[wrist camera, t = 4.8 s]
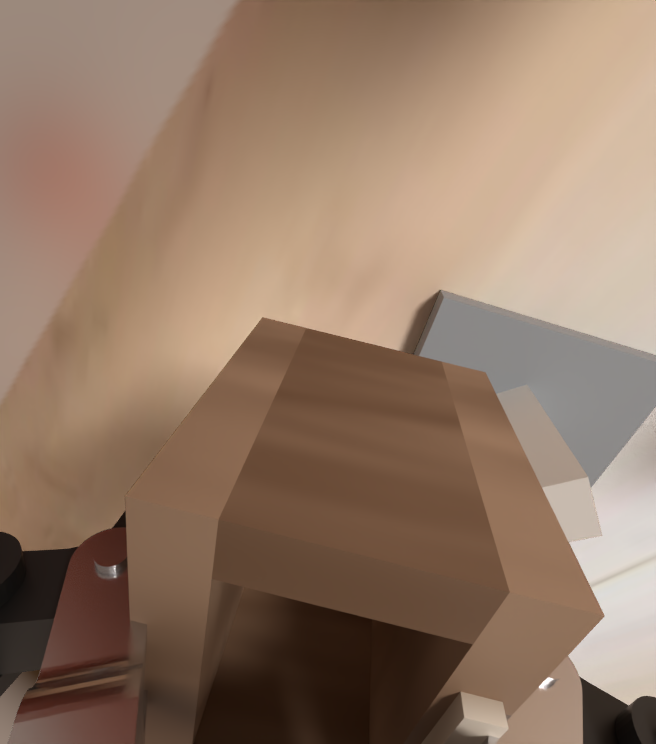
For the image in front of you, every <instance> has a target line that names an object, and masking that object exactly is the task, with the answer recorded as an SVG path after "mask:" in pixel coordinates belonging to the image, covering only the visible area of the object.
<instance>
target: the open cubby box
mask: <svg viewBox="0 0 656 744" xmlns="http://www.w3.org/2000/svg"><path fill="white" fill-rule="evenodd" d="M125 511H126V535H127V560H128V584H129V609H130V620H132V621H135V622H139V623H143V624H147V650H146V662H145V675H144V690H148V704H147V719H146V733H145V744H482V743H483V742H484V740H485V739H486V738H487V737H488V736H493V737H497V738H500V737H501V736H502V735H503V734H504V733H505V732H506V731H507V730H508V729H509V728H508V724H507V719H506V715H509V716H512V715H513V714H514V713H515V712H516V711H517V710H518V708H519V707H520V706H521V705H522V704H523V703H524V702H525V701H526V700H527V699H528V698H529V697H530V696H531V695H532V693H533V692H534V691H535V690H536V689H537V688H538V687H539V686H540V685H541V684H542V683H543V682H544V681H545V679H546V678H547V677H548V676H549V675H550V674H551V673H552V672H553V671H554V670H555V669H556V668H557V667H558V666H559V664H560V663H561V662H562V661H563V660H564V659H565V658H566V657H567V656H568V655H569V654H570V653H571V652H572V651H573V649H574V648H575V647H576V646H577V645H578V644H579V643H580V642H581V641H582V640H583V639H584V638H585V637H586V635H587V634H588V633H589V632H590V631H591V630H592V629H593V628H594V627H595V626H596V625H597V624H598V623H599V622H600V620H601V619H602V618H603V617H604V614H603V612H602V610H601V608H600V606H599V603H598V601H597V599H596V597H595V595H594V593H593V591H592V589H591V587H590V585H589V583H588V581H587V579H586V577H585V575H584V573H583V571H582V569H581V567H580V565H579V563H578V560H577V558H576V556H575V554H574V552H573V550H572V548H571V546H570V544H569V542H568V540H567V538H566V536H565V534H564V532H563V530H562V528H561V526H560V524H559V522H558V520H557V517H556V515H555V513H554V511H553V509H552V507H551V505H550V503H549V501H548V499H547V497H546V495H545V493H544V491H543V489H542V487H541V485H540V483H539V481H538V479H537V477H536V475H535V472H534V470H533V468H532V466H531V464H530V462H529V460H528V458H527V456H526V454H525V452H524V450H523V448H522V446H521V444H520V442H519V440H518V438H517V436H516V434H515V432H514V429H513V427H512V425H511V423H510V421H509V419H508V417H507V415H506V413H505V411H504V409H503V407H502V405H501V403H500V401H499V399H498V397H497V395H496V393H495V391H494V389H493V386H492V384H491V382H490V380H489V378H488V376H487V374H486V372H482V371H478V370H474V369H470V368H466V367H462V366H458V365H454V364H450V363H446V362H442V361H438V360H433V359H429V358H425V357H421V356H417V355H413V354H409V353H405V352H401V351H397V350H393V349H389V348H385V347H381V346H377V345H373V344H369V343H365V342H360V341H356V340H352V339H348V338H344V337H340V336H336V335H332V334H328V333H324V332H320V331H316V330H312V329H308V328H304V327H300V326H296V325H291V324H287V323H283V322H279V321H275V320H271V319H267V318H262V319H261V320H260V321H259V323H258V324H257V325H256V327H255V328H254V329H253V331H252V332H251V333H250V334H249V336H248V337H247V338H246V340H245V341H244V342H243V344H242V345H241V346H240V347H239V349H238V350H237V351H236V353H235V354H234V355H233V357H232V358H231V359H230V360H229V362H228V363H227V364H226V366H225V367H224V368H223V369H222V371H221V372H220V373H219V375H218V376H217V377H216V379H215V380H214V381H213V382H212V384H211V385H210V386H209V388H208V389H207V390H206V392H205V393H204V394H203V395H202V397H201V398H200V399H199V401H198V402H197V403H196V404H195V406H194V407H193V408H192V410H191V411H190V412H189V414H188V415H187V416H186V417H185V419H184V420H183V421H182V423H181V424H180V425H179V427H178V428H177V429H176V430H175V432H174V433H173V434H172V436H171V437H170V438H169V440H168V441H167V442H166V443H165V445H164V446H163V447H162V449H161V450H160V451H159V452H158V454H157V455H156V456H155V458H154V459H153V460H152V462H151V463H150V464H149V465H148V467H147V468H146V469H145V471H144V472H143V473H142V475H141V476H140V477H139V478H138V480H137V481H136V482H135V484H134V485H133V486H132V488H131V489H130V490H129V491H128V493H127V494H126V495H125Z"/></svg>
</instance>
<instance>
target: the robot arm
mask: <svg viewBox="0 0 656 744" xmlns="http://www.w3.org/2000/svg"><path fill="white" fill-rule="evenodd" d="M146 650H147V624H143V623H139V622H135V621H132V620H130V609H129V584H128V560H127V535H126V511H125V512H124V513H123V515H122V516H121V517H120V519H119V520H118V522H117V523H116V524H115V525H114V526H113V528H111V529H108V530H104V531H101V532H99V533H97V534H95V535H93V536H91V537H90V538H88V539H87V540H85V541H84V542H83V543H82V544H81V545H80V546H79V547H74V548H69V549H58V550H40V551H22V549H21V545H20V543H19V541H18V540H17V539H16V538H15V537H13V536H12V535H10V534H7V533H4V532H0V696H1V695H2V694H3V693H4V692H5V691H6V689H7V688H8V687H9V686H10V685H11V684H12V683H13V682H14V681H15V680H16V678H17V677H18V676H19V675H20V674H21V673H22V672H26V671H34V670H40V673H39V676H38V679H37V681H36V683H35V685H34V686H33V687H32V688H30V689H29V690H27V692H26V693H25V695H24V697H23V699H22V701H21V703H20V706H19V708H18V711H17V714H16V717H15V720H14V723H13V727H12V730H11V734H10V737H9V741H8V744H145V733H146V719H147V704H148V690H144V675H145V662H146ZM506 719H507V724H508V728H509V729H508V730H507V731H506V732H505V733H504V734H503V735H502V736H501V737H500V738H497V737H493V736H488V737H487V738H486V739H485V740H484V742H483V743H482V744H656V698H655V697H650V696H642V697H640V698H638V699H636V700H635V701H634V702H633V703H632V704H630V705H629V706H628V705H627V704H625V703H623V702H622V701H620V700H618V699H616V698H615V697H613V696H611V695H609V694H608V693H606V692H604V691H602V690H601V689H599V688H597V687H596V686H594V685H592V684H590V683H589V682H587V681H586V680H584V679H582V678H581V677H580V676H579V675H578V672H577V670H576V668H575V666H574V664H573V662H572V661H571V660H570V658H569V657H568V656H567V657H566V658H565V659H564V660H563V661H562V662H561V663H560V664H559V666H558V667H557V668H556V669H555V670H554V671H553V672H552V673H551V674H550V675H549V676H548V677H547V678H546V679H545V681H544V682H543V683H542V684H541V685H540V686H539V687H538V688H537V689H536V690H535V691H534V692H533V693H532V695H531V696H530V697H529V698H528V699H527V700H526V701H525V702H524V703H523V704H522V705H521V706H520V707H519V708H518V710H517V711H516V712H515V713H514V714H513V715H512V716H509V715H506Z"/></svg>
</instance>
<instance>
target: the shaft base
mask: <svg viewBox="0 0 656 744" xmlns="http://www.w3.org/2000/svg"><path fill="white" fill-rule="evenodd" d="M414 355H417V356H421V357H425V358H429V359H433V360H438V361H442V362H446V363H450V364H454V365H458V366H462V367H466V368H470V369H474V370H478V371H482V372H486V374H487V376H488V378H489V380H490V382H491V384H492V386H493V389H494V391H495V393H496V395H497V397H498V399H499V401H500V403H501V405H502V407H503V409H504V411H505V413H506V415H507V417H508V419H509V421H510V423H511V425H512V427H513V429H514V432H515V434H516V436H517V438H518V440H519V442H520V444H521V446H522V448H523V450H524V452H525V454H526V456H527V458H528V460H529V462H530V464H531V466H532V468H533V470H534V472H535V475H536V477H537V479H538V481H539V483H540V485H541V487H542V489H543V491H544V493H545V495H546V497H547V499H548V501H549V503H550V505H551V507H552V509H553V511H554V513H555V515H556V517H557V520H558V522H559V524H560V526H561V528H562V530H563V532H564V534H565V536H566V538H567V540H568V542H572V541H577V540H583V539H588V538H593V537H598V536H602V532H601V528H600V524H599V520H598V516H597V512H596V507H595V503H594V499H593V495H592V491H591V487H592V486H593V485H594V483H595V482H596V481H597V480H598V478H599V477H600V476H601V474H602V473H603V472H604V471H605V469H606V468H607V467H608V466H609V464H610V463H611V462H612V461H613V459H614V458H615V457H616V456H617V454H618V453H619V452H620V451H621V449H622V448H623V447H624V446H625V444H626V443H627V442H628V441H629V439H630V438H631V437H632V436H633V434H634V433H635V432H636V431H637V429H638V428H639V427H640V426H641V424H642V423H643V422H644V421H645V419H646V418H647V417H648V416H649V414H650V413H651V412H652V411H653V409H654V408H655V407H656V355H653V354H649V353H646V352H643V351H640V350H636V349H633V348H630V347H626V346H623V345H620V344H617V343H613V342H610V341H607V340H603V339H600V338H597V337H594V336H590V335H587V334H584V333H580V332H577V331H574V330H571V329H567V328H564V327H561V326H558V325H554V324H551V323H548V322H544V321H541V320H538V319H535V318H531V317H528V316H525V315H521V314H518V313H515V312H512V311H508V310H505V309H502V308H498V307H495V306H492V305H489V304H485V303H482V302H479V301H475V300H472V299H469V298H466V297H462V296H459V295H456V294H453V293H449V292H446V291H443V290H440V292H439V295H438V297H437V300H436V302H435V304H434V307H433V309H432V312H431V314H430V316H429V319H428V321H427V323H426V326H425V328H424V331H423V333H422V335H421V338H420V340H419V343H418V345H417V347H416V350H415V352H414Z"/></svg>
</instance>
